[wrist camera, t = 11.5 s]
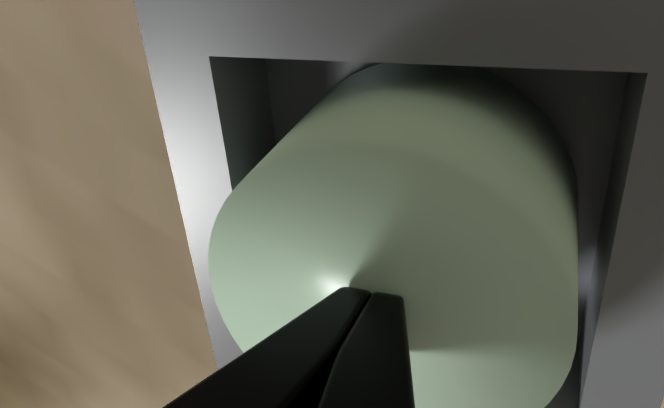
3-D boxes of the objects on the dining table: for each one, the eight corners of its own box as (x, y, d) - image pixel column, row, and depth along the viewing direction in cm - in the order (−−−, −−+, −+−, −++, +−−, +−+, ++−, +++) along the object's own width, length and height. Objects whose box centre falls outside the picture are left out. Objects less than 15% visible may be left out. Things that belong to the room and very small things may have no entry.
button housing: (629, 365, 12) (639, 475, 10) (270, 300, 15) (219, 378, 13) (735, -64, 8) (790, -30, 6) (216, -51, 11) (127, -23, 9)
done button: (558, 330, 11) (551, 481, 8) (305, 288, 13) (235, 404, 10) (600, 63, 9) (610, 163, 6) (279, 52, 10) (176, 127, 8)
